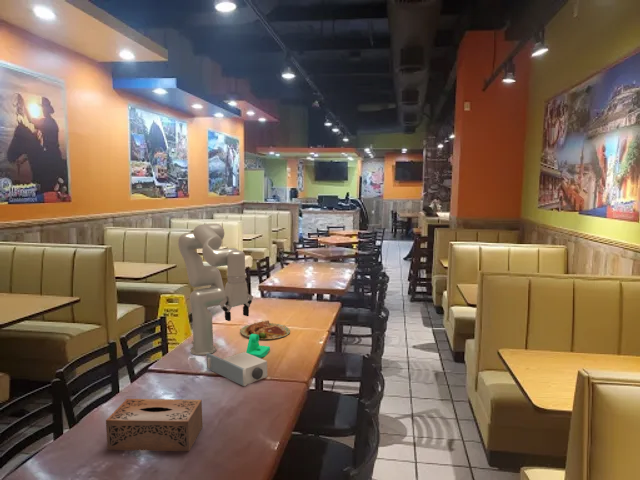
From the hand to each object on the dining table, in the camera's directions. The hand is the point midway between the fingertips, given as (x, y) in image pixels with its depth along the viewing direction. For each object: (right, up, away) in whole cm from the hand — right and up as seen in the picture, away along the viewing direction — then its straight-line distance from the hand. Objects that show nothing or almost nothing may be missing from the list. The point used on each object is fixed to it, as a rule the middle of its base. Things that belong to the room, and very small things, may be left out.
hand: (237, 318), depth 197 cm
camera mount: (+6, -23, +25) cm, 34 cm away
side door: (-5, -25, -2) cm, 26 cm away
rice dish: (+5, -19, +59) cm, 62 cm away
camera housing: (+3, -25, 0) cm, 25 cm away
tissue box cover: (-17, -31, -49) cm, 60 cm away
